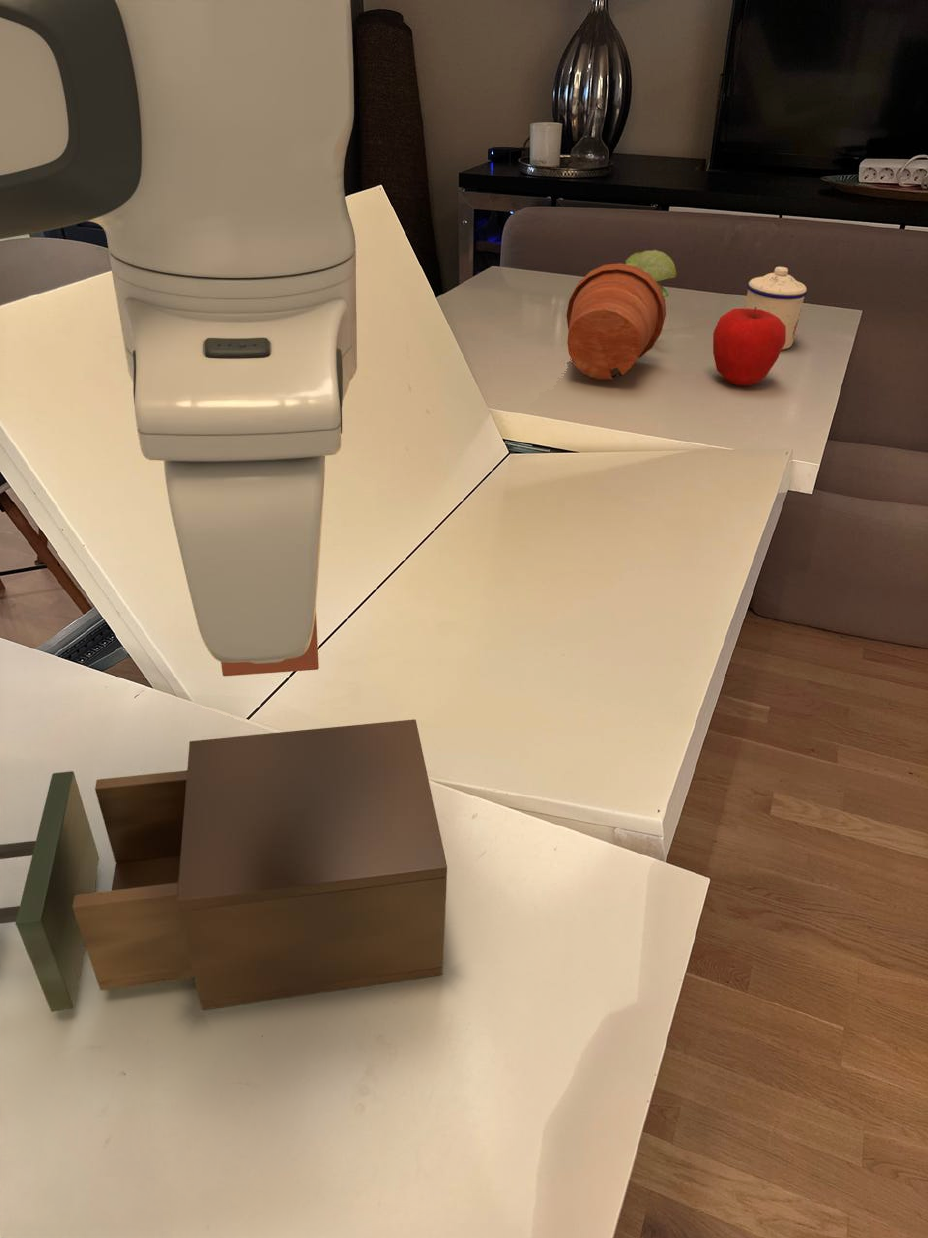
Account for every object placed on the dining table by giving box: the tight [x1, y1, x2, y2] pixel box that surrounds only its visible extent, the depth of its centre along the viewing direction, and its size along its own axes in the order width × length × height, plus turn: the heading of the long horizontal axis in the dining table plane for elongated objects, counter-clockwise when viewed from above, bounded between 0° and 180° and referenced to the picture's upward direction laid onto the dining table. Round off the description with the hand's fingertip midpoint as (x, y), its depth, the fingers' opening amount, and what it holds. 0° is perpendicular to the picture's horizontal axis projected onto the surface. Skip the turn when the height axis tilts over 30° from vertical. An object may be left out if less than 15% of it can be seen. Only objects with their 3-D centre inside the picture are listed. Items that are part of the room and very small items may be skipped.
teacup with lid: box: [743, 266, 808, 351], centre depth 146 cm, size 12×9×12 cm
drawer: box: [0, 769, 194, 1013], centre depth 52 cm, size 17×10×8 cm, turn 101°
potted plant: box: [565, 249, 677, 380], centre depth 138 cm, size 16×15×35 cm
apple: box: [712, 307, 786, 387], centre depth 130 cm, size 10×10×11 cm
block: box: [220, 612, 320, 677], centre depth 43 cm, size 4×4×4 cm
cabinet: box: [177, 718, 448, 1010], centre depth 53 cm, size 14×12×10 cm
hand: (266, 617), depth 43 cm, fingers closed on block, 4 cm apart
